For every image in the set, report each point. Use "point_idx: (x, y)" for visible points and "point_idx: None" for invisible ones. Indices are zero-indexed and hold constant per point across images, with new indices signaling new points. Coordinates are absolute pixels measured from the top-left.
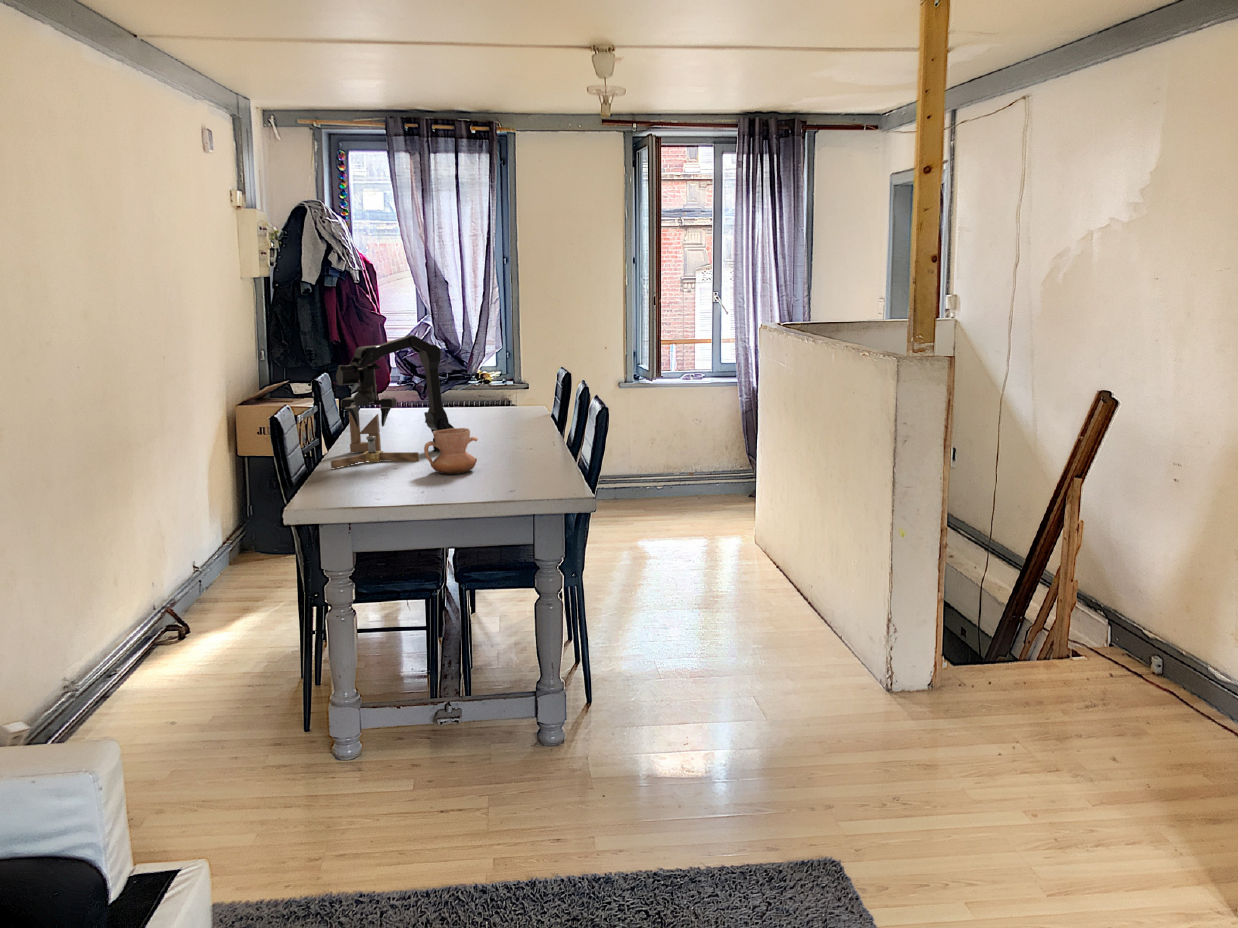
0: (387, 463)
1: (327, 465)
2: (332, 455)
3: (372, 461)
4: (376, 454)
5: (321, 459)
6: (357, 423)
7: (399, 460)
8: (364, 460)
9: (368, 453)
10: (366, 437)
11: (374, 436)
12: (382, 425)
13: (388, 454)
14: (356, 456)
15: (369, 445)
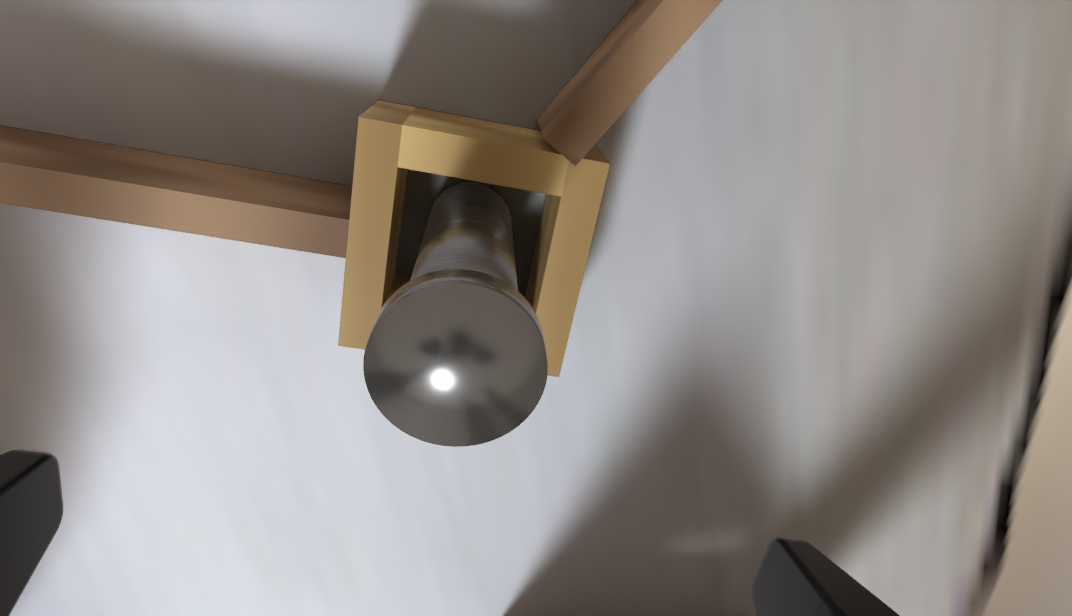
0: (222, 15)
1: (1003, 30)
2: (917, 558)
3: (447, 115)
4: (369, 118)
5: (1032, 398)
6: (822, 593)
7: (97, 145)
8: (550, 111)
9: None
10: (537, 327)
11: (386, 384)
12: (7, 464)
13: (220, 192)
14: (655, 7)
15: (485, 255)
